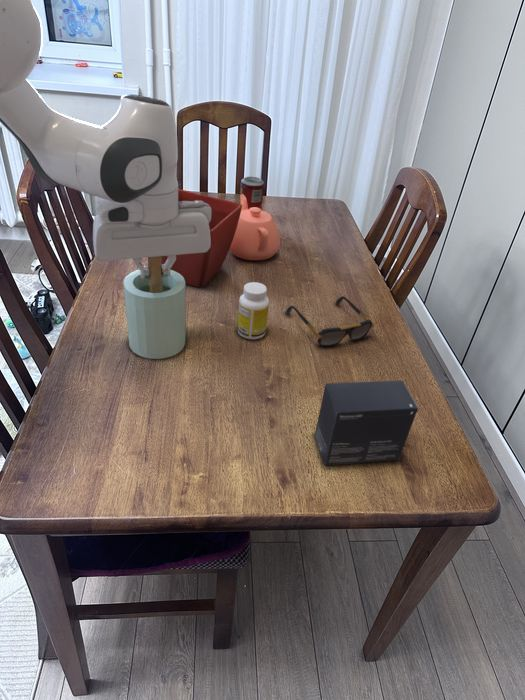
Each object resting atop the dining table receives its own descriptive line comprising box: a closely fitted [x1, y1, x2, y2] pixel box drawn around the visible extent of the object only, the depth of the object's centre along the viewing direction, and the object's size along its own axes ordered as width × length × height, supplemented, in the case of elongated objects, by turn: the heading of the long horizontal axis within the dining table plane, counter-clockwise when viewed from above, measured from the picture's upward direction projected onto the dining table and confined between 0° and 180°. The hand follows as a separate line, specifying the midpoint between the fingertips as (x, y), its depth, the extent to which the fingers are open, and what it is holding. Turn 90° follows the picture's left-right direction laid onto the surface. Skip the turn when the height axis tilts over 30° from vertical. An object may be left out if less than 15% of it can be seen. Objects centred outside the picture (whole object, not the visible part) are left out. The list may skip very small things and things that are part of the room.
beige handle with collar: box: [147, 256, 163, 293], centre depth 91 cm, size 4×4×16 cm
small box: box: [314, 380, 419, 466], centre depth 78 cm, size 13×7×12 cm, turn 99°
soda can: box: [239, 176, 265, 211], centre depth 150 cm, size 7×7×12 cm
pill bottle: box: [237, 281, 270, 340], centre depth 101 cm, size 6×6×11 cm
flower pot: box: [161, 188, 242, 288], centre depth 118 cm, size 19×19×17 cm
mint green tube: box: [122, 269, 187, 360], centre depth 95 cm, size 11×11×14 cm
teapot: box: [229, 194, 281, 261], centre depth 132 cm, size 22×15×12 cm
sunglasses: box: [285, 295, 375, 348], centre depth 108 cm, size 14×15×5 cm
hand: (155, 276), depth 89 cm, fingers closed on beige handle with collar, 2 cm apart
